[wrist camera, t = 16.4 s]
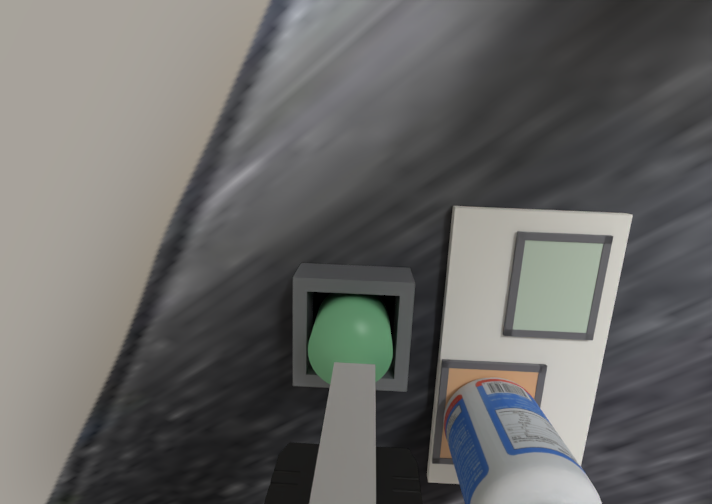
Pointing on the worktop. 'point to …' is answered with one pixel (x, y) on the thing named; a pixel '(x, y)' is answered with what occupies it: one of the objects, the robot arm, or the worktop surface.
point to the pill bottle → (510, 449)
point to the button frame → (353, 282)
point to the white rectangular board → (528, 313)
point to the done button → (351, 334)
